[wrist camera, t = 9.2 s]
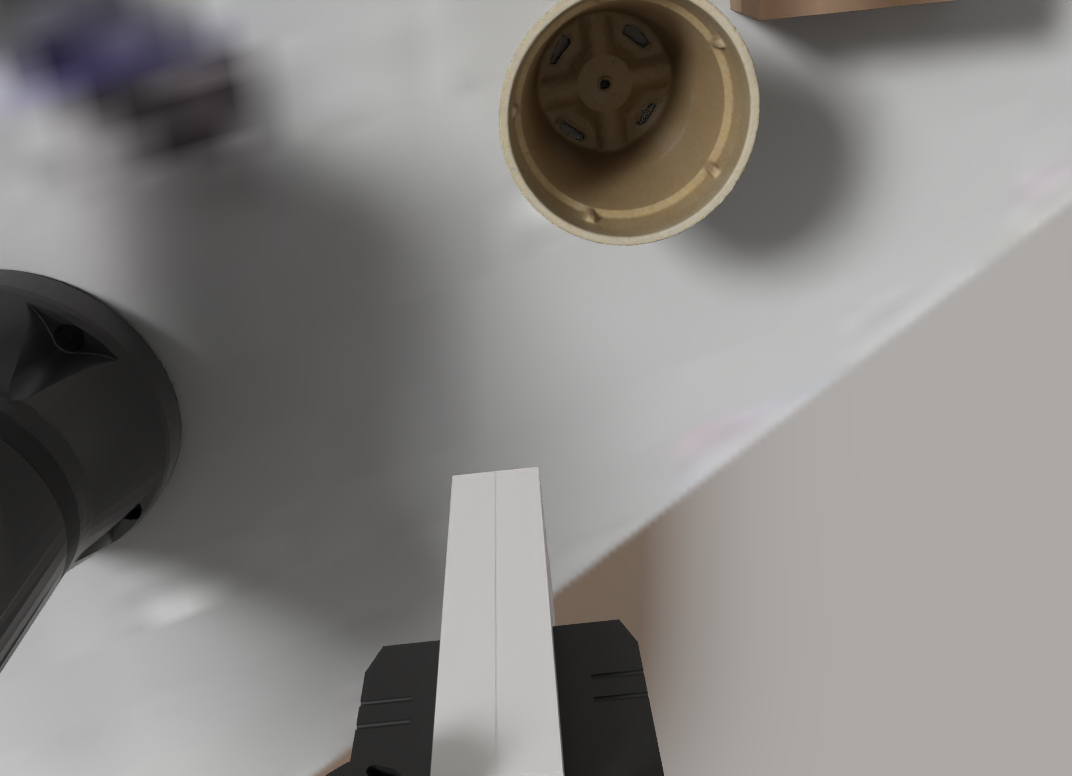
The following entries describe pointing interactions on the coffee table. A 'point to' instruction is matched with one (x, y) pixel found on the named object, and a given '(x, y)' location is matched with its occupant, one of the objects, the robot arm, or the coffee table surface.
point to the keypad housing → (812, 7)
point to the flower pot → (629, 117)
